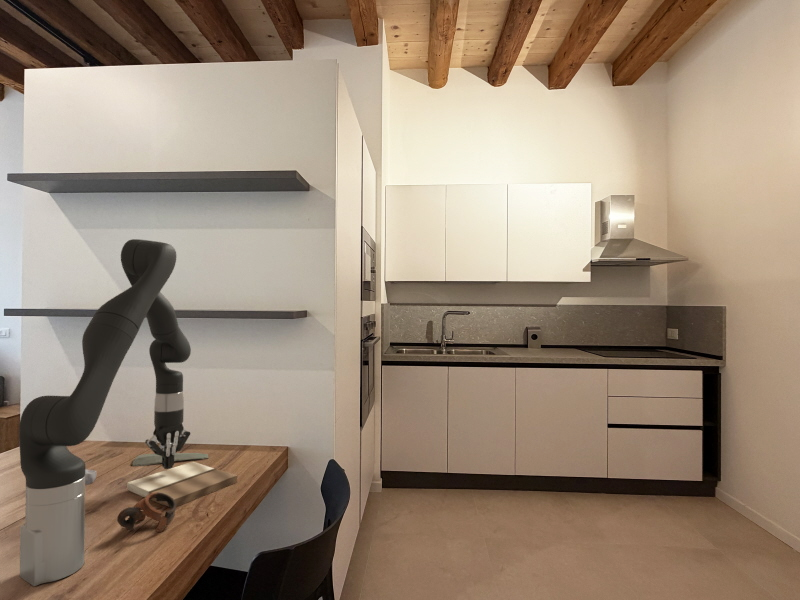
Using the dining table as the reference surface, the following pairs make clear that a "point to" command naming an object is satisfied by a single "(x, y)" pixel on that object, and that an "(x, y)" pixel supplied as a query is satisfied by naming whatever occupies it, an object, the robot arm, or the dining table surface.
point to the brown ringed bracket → (148, 512)
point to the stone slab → (156, 459)
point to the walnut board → (196, 486)
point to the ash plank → (165, 478)
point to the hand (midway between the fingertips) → (168, 468)
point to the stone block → (89, 476)
